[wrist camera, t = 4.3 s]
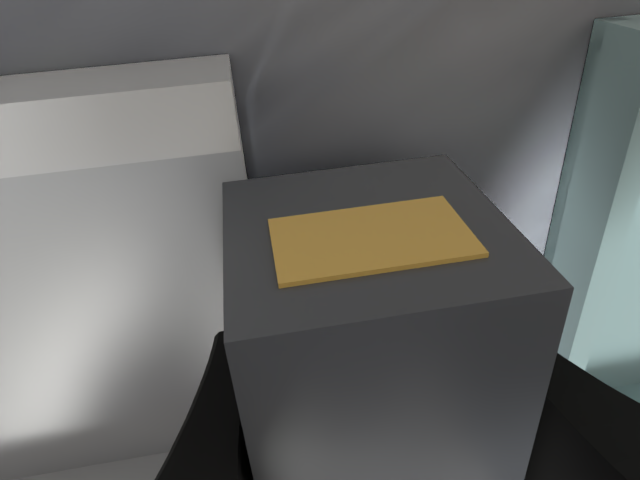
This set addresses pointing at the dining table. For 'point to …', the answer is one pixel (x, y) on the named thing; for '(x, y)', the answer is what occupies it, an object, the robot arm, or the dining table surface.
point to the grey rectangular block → (385, 325)
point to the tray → (603, 211)
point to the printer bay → (110, 260)
